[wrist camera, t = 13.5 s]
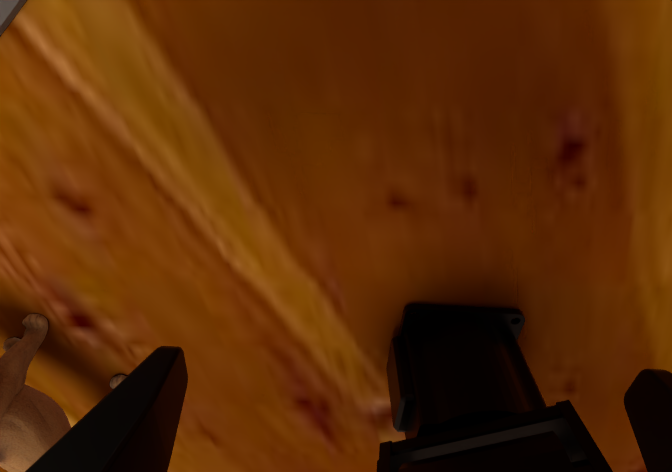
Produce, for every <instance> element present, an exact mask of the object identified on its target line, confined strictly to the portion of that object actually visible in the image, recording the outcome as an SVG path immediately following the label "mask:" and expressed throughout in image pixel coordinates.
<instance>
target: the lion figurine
mask: <svg viewBox="0 0 672 472" xmlns="http://www.w3.org/2000/svg"><path fill="white" fill-rule="evenodd" d="M22 323H23V325H24V326H25V327H26V330H25V332H24V336H23V338H22V339H19V338H16V337H14V338H9V339H7V340H5V342H4V346H3V349H4V350H5V351H6V352H5V353H4V354H3V356H2V357H1V358H0V467H2V468H3V469H5V470H7V471H9V472H25V471H26V470H27V469H28V468H29V467H30V466H31V465H32V464H33V463H35V462H36V461H37V460H38V459H39V458H40V457H41V456H42V455H43V454H44V453H45V452H46V451H47V450H48V449H50V448H51V447H52V446H53V445H54V444H55V443H56V442H57V441H58V440H59V439H60V438H61V437H62V436H63V435H65V434H66V433H67V432H68V431H69V430H70V429H71V426H70V424H69V421H68V418H67V416H66V415H65V413H64V411H63V409H62V408H61V407H60V406H59V405H58V404H57V403H56V402H55V401H54V400H53V399H52V398H50V397H49V396H47V395H46V394H44V393H42V392H40V391H38V390H36V389H34V388H32V387H29V386H27V385H25V384H24V383H25V379H26V374H27V370H28V367H29V365H30V362H31V360H32V359H33V357H34V355H35V353H36V351H37V349H38V348H39V346H40V345H41V343H42V342H43V340H44V338H45V336H46V333H47V330H48V321H47V319H46V318H45V317H44V316H43V315H40V314H29V315H28V316H27V317H26V318H25V319H24V320H23V322H22ZM126 377H127V376H124V375H117V376H115V377H113V378H112V379H111V381H110V387H111V388H112V389H114V388H115V387H116V386H117V385H118V384H119V383H120V382H121V381H122V380H124V379H125V378H126Z"/></svg>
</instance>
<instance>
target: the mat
mask: <svg viewBox="0 0 672 472" xmlns="http://www.w3.org/2000/svg"><path fill="white" fill-rule="evenodd" d="M26 1H27V0H0V36H1V34H2V33H3V32H4V30H5V29H6V28H7V26H8V25H9V24H10V22H11V21H12V20H13V18H14V17H15V16H16V14H17V13H18V12H19V10H20V9H21V7H22V6H23V5H24V3H25V2H26Z"/></svg>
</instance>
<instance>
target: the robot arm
mask: <svg viewBox="0 0 672 472" xmlns="http://www.w3.org/2000/svg"><path fill="white" fill-rule="evenodd" d="M414 312H416V313H415V314H411V313H414ZM513 318H515V319H513ZM524 322H525V318H524V316H523V314H522V312H521V311H520V310H518V309H504V308H485V307H466V306H447V305H428V304H410V305H407V306H406V307H405V309H404V311H403V316H402V321H401V326H400V331H399V335H398V336H395V337H394V338H393V339H392V342H391V347H390V352H389V357H388V362H387V376H388V385H389V393H390V402H391V410H392V419H393V427H394V428H395V429H396V430H397V431H398V432H405V436H406V440H402V441H397V442H393V443H392V441H388V442H384V443H380V452H379V460H378V461H377V472H613V471H612V469H611V468H610V466H609V465H608V463H607V461H606V460H605V458H604V456H603V455H602V453H601V452H600V450H599V448H598V447H597V445H596V443H595V442H594V440H593V438H592V437H591V435H590V434H589V432H588V430H587V429H586V427H585V425H584V424H583V422H582V420H581V419H580V417H579V416H578V414H577V412H576V411H575V409H574V407H573V406H572V404H571V403H570V401H569V400H565V401H561V402H557V403H556V405H554V406H549V407H547V406H546V404H545V402H544V400H543V398H542V395H541V393H540V391H539V389H538V387H537V384H536V382H535V380H534V378H533V376H532V373H531V371H530V369H529V367H528V365H527V362H526V360H525V358H524V356H523V354H522V351H521V349H520V347H519V345H518V342H517V339H518V336H519V334H520V332H521V329H522V327H523V325H524ZM187 382H188V374H187V368H186V363H185V357H184V352H183V350H182V348H181V347H175V346H161V347H158V348H157V349H156V350H155V351H154V352H152V353H151V354H150V355H149V356H148V357H147V358H146V359H145V360H144V361H143V362H142V363H141V364H140V365H139V366H137V367H136V368H135V369H134V370H133V371H132V372H131V373H130V374H129V375H128V376H127V377H126V378H125V379H124V380H122V381H121V382H120V383H119V384H118V385H117V386H116V387H115V388H114V389H113V390H112V391H111V392H110V393H109V394H107V395H106V396H105V397H104V398H103V399H102V400H101V401H100V402H99V403H98V404H97V405H96V406H95V407H93V408H92V409H91V410H90V411H89V412H88V413H87V414H86V415H85V416H84V417H83V418H82V419H81V420H80V421H78V422H77V423H76V424H75V425H74V426H73V427H72V428H71V429H70V430H69V431H68V432H67V433H66V434H65V435H63V436H62V437H61V438H60V439H59V440H58V441H57V442H56V443H55V444H54V445H53V446H52V447H51V448H50V449H48V450H47V451H46V452H45V453H44V454H43V455H42V456H41V457H40V458H39V459H38V460H37V461H36V462H35V463H33V464H32V465H31V466H30V467H29V468H28V469H27V470H26V471H25V472H167V470H168V467H169V463H170V459H171V455H172V450H173V446H174V441H175V437H176V433H177V428H178V424H179V419H180V415H181V411H182V406H183V402H184V397H185V393H186V388H187ZM624 405H625V409H626V412H627V414H628V417H629V420H630V423H631V426H632V429H633V431H634V434H635V437H636V440H637V443H638V446H639V448H640V451H641V454H642V457H643V460H644V462H645V465H646V468H647V471H648V472H672V373H670V372H668V371H666V370H661V369H644V370H642V371H641V372H640V373H639V374H638V375H637V377H636V378H635V380H634V381H633V383H632V384H631V386H630V387H629V389H628V390H627V391H626V393H625V396H624Z"/></svg>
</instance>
